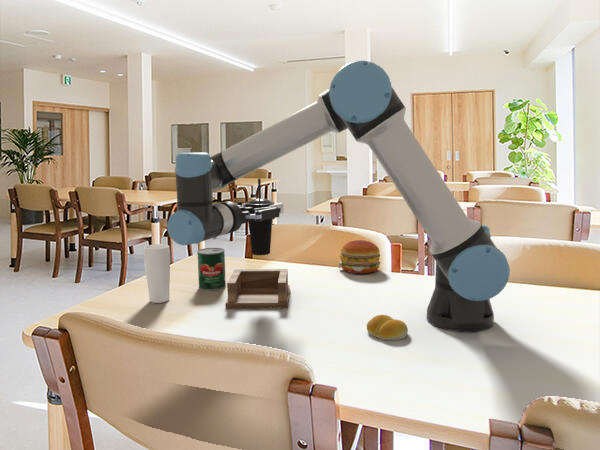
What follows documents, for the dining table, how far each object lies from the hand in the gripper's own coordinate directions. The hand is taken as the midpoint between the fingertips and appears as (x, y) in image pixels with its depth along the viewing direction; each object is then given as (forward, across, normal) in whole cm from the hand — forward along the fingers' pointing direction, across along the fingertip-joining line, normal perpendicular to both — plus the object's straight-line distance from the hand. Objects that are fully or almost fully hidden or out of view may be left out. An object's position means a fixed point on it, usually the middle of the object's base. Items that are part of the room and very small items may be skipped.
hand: (269, 206), depth 143 cm
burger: (+34, +14, -25) cm, 44 cm away
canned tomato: (-1, -19, -25) cm, 31 cm away
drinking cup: (-5, 0, -12) cm, 13 cm away
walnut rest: (-5, 0, -25) cm, 25 cm away
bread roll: (-16, +38, -25) cm, 48 cm away
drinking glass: (-18, -24, -25) cm, 39 cm away
